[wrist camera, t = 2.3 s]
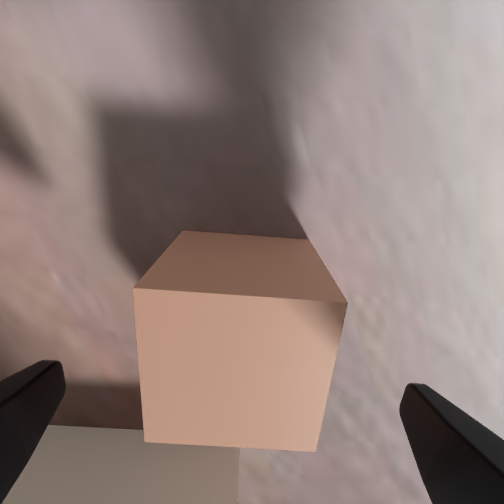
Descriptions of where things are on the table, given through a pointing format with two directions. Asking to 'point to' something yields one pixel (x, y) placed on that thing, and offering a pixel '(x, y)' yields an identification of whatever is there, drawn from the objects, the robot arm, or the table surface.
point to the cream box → (124, 470)
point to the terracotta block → (237, 342)
